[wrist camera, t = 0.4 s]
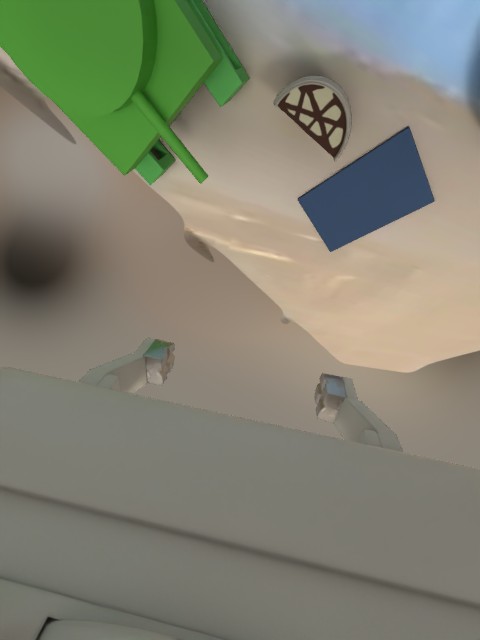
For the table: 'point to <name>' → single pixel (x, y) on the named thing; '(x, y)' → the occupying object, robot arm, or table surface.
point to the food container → (319, 111)
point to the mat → (369, 192)
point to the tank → (123, 70)
